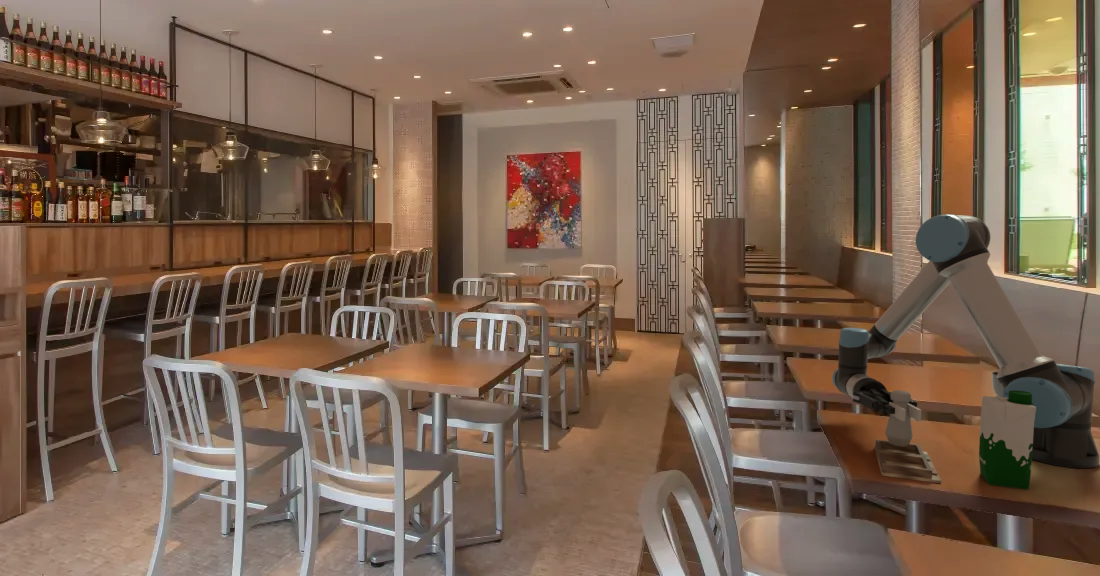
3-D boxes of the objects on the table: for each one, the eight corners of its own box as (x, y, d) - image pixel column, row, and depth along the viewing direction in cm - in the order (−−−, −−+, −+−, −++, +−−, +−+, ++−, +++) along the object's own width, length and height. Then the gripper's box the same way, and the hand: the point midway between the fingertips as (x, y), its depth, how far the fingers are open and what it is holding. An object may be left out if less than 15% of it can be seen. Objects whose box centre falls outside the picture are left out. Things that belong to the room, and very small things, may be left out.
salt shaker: (914, 448, 145) (917, 395, 144) (888, 446, 147) (890, 393, 146) (908, 441, 151) (910, 389, 150) (882, 438, 153) (884, 387, 152)
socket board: (926, 454, 151) (926, 444, 151) (941, 483, 133) (941, 472, 132) (874, 448, 156) (874, 438, 156) (881, 475, 137) (882, 464, 137)
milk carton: (1035, 492, 128) (1041, 398, 127) (984, 485, 131) (988, 394, 130) (1021, 477, 136) (1026, 389, 135) (973, 471, 140) (978, 385, 138)
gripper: (896, 405, 166) (946, 432, 143) (836, 403, 167) (875, 430, 144) (897, 378, 165) (948, 400, 142) (837, 376, 166) (877, 398, 143)
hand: (911, 415), depth 143 cm, fingers closed on salt shaker, 3 cm apart
